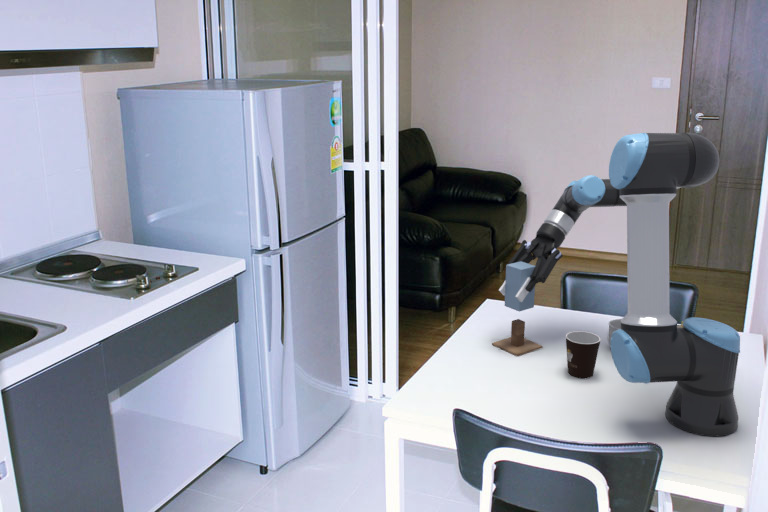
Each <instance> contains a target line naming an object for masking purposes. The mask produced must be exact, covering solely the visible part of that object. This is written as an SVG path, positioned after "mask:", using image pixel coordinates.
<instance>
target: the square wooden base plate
mask: <svg viewBox="0 0 768 512" xmlns="http://www.w3.org/2000/svg"><path fill="white" fill-rule="evenodd" d="M525 326H526V321H525V320H522V319H520V318H517V319H514V320H511V328H510V329H511V331H510V332H511V333H510V337H509V336H508V337H506V338H504V339H503V338H502V339H500V340H497V341H494V342H492V343H491V346H493V347H496V348H498V349H500V350H502V351H504V352H506V353H508V354H511V355H514V356H515V357H519V356H523V355H526V354H528V353H531V352H535V351H537V350H540V349H543V347H544V346H543V345H541V344H539V343H537V342H535V341H532V340H529V339H527V338H526V337H525V329H526V327H525Z"/></svg>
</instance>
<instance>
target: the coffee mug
mask: <svg viewBox="0 0 768 512" xmlns="http://www.w3.org/2000/svg"><path fill="white" fill-rule="evenodd" d="M565 343H566V344H565V346H566V362H567V363H566V364H567V365H566V366H567V375H569V376H570V377H572V378H575V379H584V380H585V378H586V379H591V378H592V377H593V376H594V372H595V368H596V362H597V358H598V354H599V350H600V349H599V347H600V345H601V337H600V336H599V335H598V334H595V333H593V332H590V331H585V330H584V331H582V330H576V331H570V332H567V333H566V334H565Z"/></svg>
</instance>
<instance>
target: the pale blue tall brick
mask: <svg viewBox="0 0 768 512" xmlns="http://www.w3.org/2000/svg"><path fill="white" fill-rule="evenodd" d="M507 264H508V263H507ZM507 264H506V265H505V278H506V283H505V296H504V307H507V308H509V309H512V310H515V311H516V312H519V313H520V312H522V311H526V310H530V309H533V308H534V307H535V295H536V293H535V292H536V285H535V286H534V288H533V289H532V291H531V292H528V294H527V295H526V297H525V298H524V300H523V302H520V301H519V300H518V299H517V298H516V297H515V296H516V295H517V293H518V292H519V290H520V289H521V287H522V286H523V284H524V283H525V281H526V280H527V278H528V277H529V278H531V277H530V275H532V273H533V270H534V268H535V267H536V266H535V265H533V264H531V263H529V264H528V263H525V262H521V261H520V262H516V263H512V264H508V265H507ZM531 279H532V278H531Z"/></svg>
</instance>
